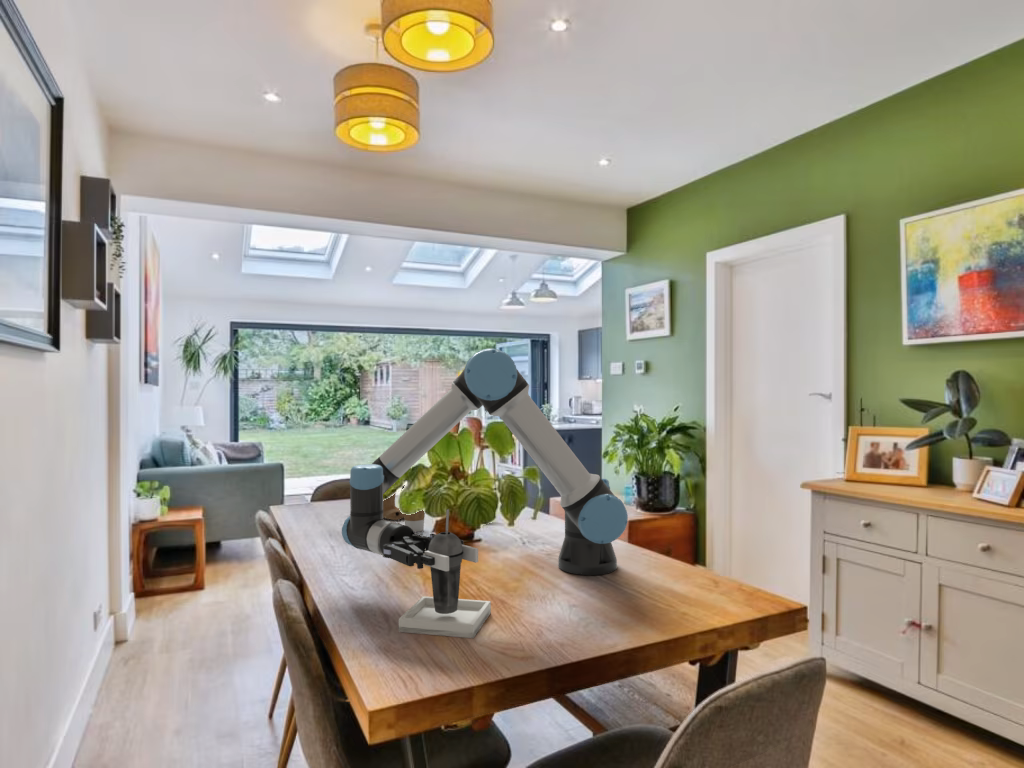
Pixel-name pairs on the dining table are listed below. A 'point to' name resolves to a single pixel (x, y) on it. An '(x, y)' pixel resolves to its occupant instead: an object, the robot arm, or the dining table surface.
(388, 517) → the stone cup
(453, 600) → the beverage cup
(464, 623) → the tray
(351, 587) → the dining table surface
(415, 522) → the coffee cup
